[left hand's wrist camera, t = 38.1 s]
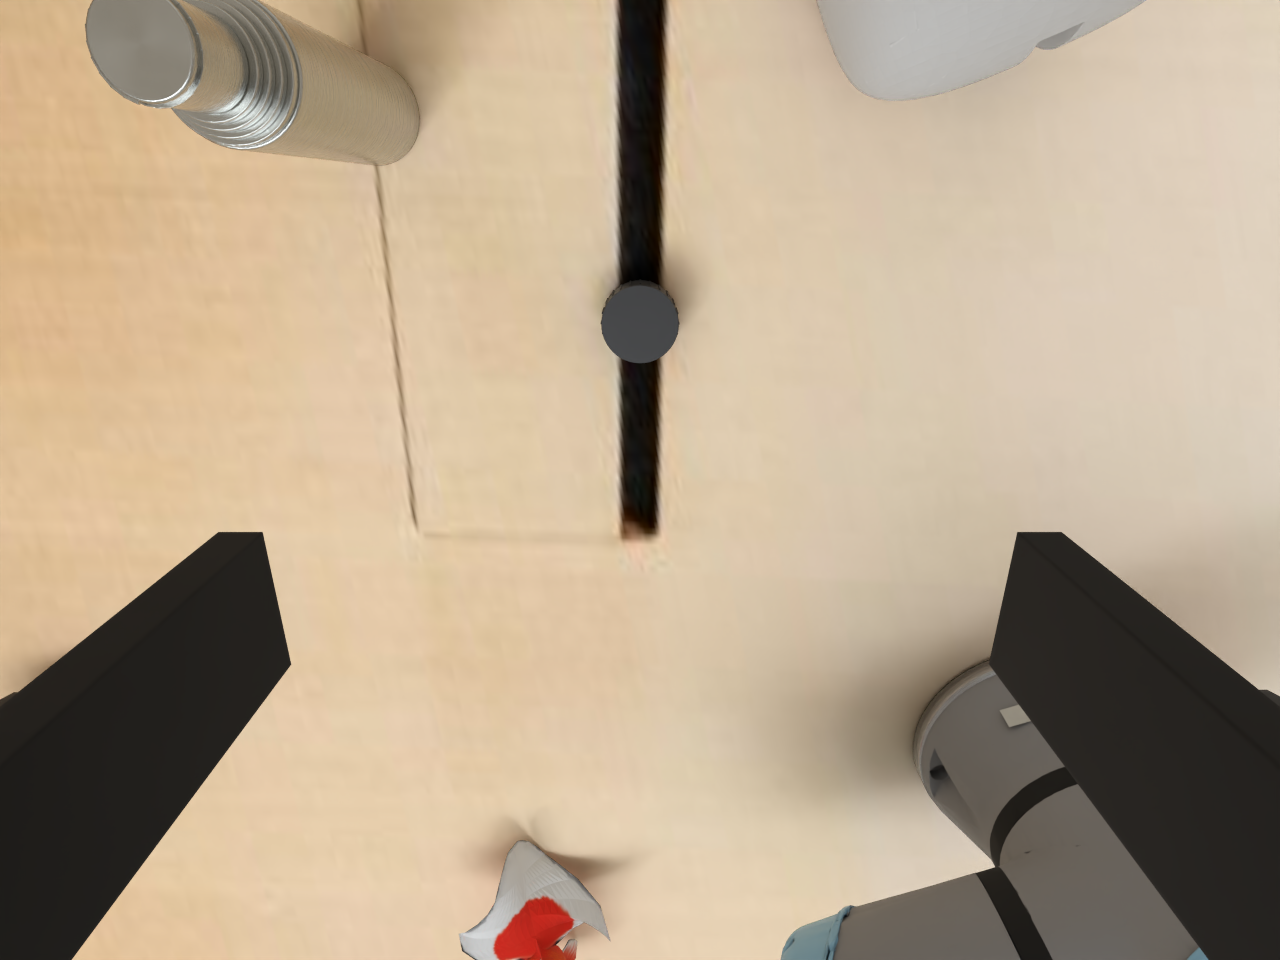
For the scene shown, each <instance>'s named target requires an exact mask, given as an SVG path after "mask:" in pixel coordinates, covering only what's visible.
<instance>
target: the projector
mask: <svg viewBox="0 0 1280 960" xmlns="http://www.w3.org/2000/svg"><path fill="white" fill-rule="evenodd" d="M1144 1H1146V0H817V4H818V7H819V10H820V14H821V17H822V20H823V23H824V27H825V30H826V33H827V35H828V38H829V41H830V43H831V46H832V49H833V51H834V54H835V56H836V58H837V60H838V62H839V64H840V66H841V68H842V70H843V72H844V73H845V75H846V76H847V78H848V79H849V81H850V82H851V83H852V84H853V85H854V86H855V87H856V88H857V89H858V90H859V91H861V92H862V93H864V94H865V95H867V96H870V97H872V98H876V99H880V100H887V101H903V100H912V99H919V98H924V97H929V96H934V95H938V94H942V93H945V92H948V91H952V90H955V89H958V88H961V87H964V86H967V85H969V84H972V83H975V82H977V81H980V80H983V79H985V78H988V77H990V76H993V75H995V74H998V73H1000V72H1002V71H1005V70H1007V69H1010V68H1012V67H1014V66H1016V65H1018V64H1019V63H1021V62H1022V61H1023V60H1024V59H1026V58H1027V56H1028V55H1029V54H1030V53H1031V52H1032V51H1033V49H1034V48H1035V47H1038V48H1040V49H1044V50H1051V49H1055V48H1058V47H1060V46H1062V45H1064V44H1066V43H1068V42H1071V41H1073V40H1075V39H1077V38H1079V37H1081V36H1084V35H1086V34H1088V33H1090V32H1092V31H1094V30H1096V29H1098V28H1100V27H1102V26H1104V25H1106V24H1108V23H1109V22H1111V21H1113V20H1115V19H1117V18H1118V17H1120V16H1122V15H1124V14H1126V13H1127V12H1129V11H1130V10H1132V9H1134V8H1135V7H1137V6H1138V5H1140V4H1141V3H1143V2H1144Z"/></svg>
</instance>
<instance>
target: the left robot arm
mask: <svg viewBox="0 0 1280 960" xmlns="http://www.w3.org/2000/svg"><path fill="white" fill-rule="evenodd" d="M290 665H291V661H290V657H289V652H288V648H287V643H286V638H285V634H284V629H283V624H282V620H281V615H280V611H279V606H278V601H277V597H276V592H275V588H274V583H273V578H272V574H271V569H270V564H269V560H268V555H267V551H266V546H265V541H264V537H263V532H218V533H217V534H216V535H214V536H213V537H212V538H211V539H209V540H208V541H207V542H206V543H204V544H203V545H202V546H201V547H199V548H198V549H197V550H196V551H194V552H193V553H192V554H191V555H189V556H188V557H187V558H186V559H184V560H183V561H182V562H181V563H179V564H178V565H177V566H176V567H174V568H173V569H172V570H171V571H169V572H168V573H167V574H166V575H164V576H163V577H162V578H161V579H159V580H158V581H157V582H156V583H154V584H153V585H152V586H151V587H149V588H148V589H147V590H146V591H144V592H143V593H142V594H141V595H139V596H138V597H137V598H136V599H134V600H133V601H132V602H131V603H129V604H128V605H127V606H126V607H124V608H123V609H122V610H121V611H119V612H118V613H117V614H116V615H114V616H113V617H112V618H111V619H109V620H108V621H107V622H106V623H104V624H103V625H102V626H101V627H99V628H98V629H97V630H95V631H94V632H93V633H92V634H90V635H89V636H88V637H87V638H85V639H84V640H83V641H82V642H80V643H79V644H78V645H77V646H75V647H74V648H73V649H72V650H70V651H69V652H68V653H67V654H65V655H64V656H63V657H62V658H60V659H59V660H58V661H57V662H55V663H54V664H53V665H52V666H50V667H49V668H48V669H47V670H45V671H44V672H43V673H42V674H40V675H39V676H38V677H37V678H35V679H34V680H33V681H32V682H30V683H29V684H28V685H27V686H25V687H24V688H23V689H22V690H20V691H19V692H14V693H12V694H10V695H8V696H6V697H4V698H2V699H1V700H0V960H72V958H73V957H74V956H75V954H76V953H77V952H78V950H79V949H80V948H81V946H82V945H83V944H84V942H85V941H86V940H87V938H88V937H89V936H90V934H91V933H92V932H93V930H94V929H95V928H96V926H97V925H98V923H99V922H100V921H101V919H102V918H103V917H104V915H105V914H106V913H107V911H108V910H109V909H110V907H111V906H112V905H113V903H114V902H115V901H116V899H117V898H118V897H119V895H120V894H121V893H122V891H123V890H124V889H125V887H126V886H127V884H128V883H129V882H130V880H131V879H132V878H133V876H134V875H135V874H136V872H137V871H138V870H139V868H140V867H141V866H142V864H143V863H144V862H145V860H146V859H147V858H148V856H149V855H150V854H151V852H152V851H153V850H154V848H155V847H156V845H157V844H158V843H159V841H160V840H161V839H162V837H163V836H164V835H165V833H166V832H167V831H168V829H169V828H170V827H171V825H172V824H173V823H174V821H175V820H176V819H177V817H178V816H179V815H180V813H181V812H182V811H183V809H184V808H185V806H186V805H187V804H188V802H189V801H190V800H191V798H192V797H193V796H194V794H195V793H196V792H197V790H198V789H199V788H200V786H201V785H202V784H203V782H204V781H205V780H206V778H207V777H208V776H209V774H210V773H211V772H212V770H213V769H214V767H215V766H216V765H217V763H218V762H219V761H220V759H221V758H222V757H223V755H224V754H225V753H226V751H227V750H228V749H229V747H230V746H231V745H232V743H233V742H234V741H235V739H236V738H237V737H238V735H239V734H240V733H241V731H242V730H243V728H244V727H245V726H246V724H247V723H248V722H249V720H250V719H251V718H252V716H253V715H254V714H255V712H256V711H257V710H258V708H259V707H260V706H261V704H262V703H263V702H264V700H265V699H266V698H267V696H268V695H269V694H270V692H271V691H272V689H273V688H274V687H275V685H276V684H277V683H278V681H279V680H280V679H281V677H282V676H283V675H284V673H285V672H286V671H287V669H288V668H289V667H290ZM913 755H914V762H915V766H916V769H917V772H918V774H919V776H920V778H921V780H922V782H923V784H924V786H925V788H926V790H927V792H928V794H929V796H930V797H931V799H932V800H933V801H934V802H935V804H936V805H937V806H938V808H939V809H940V810H941V811H942V812H943V813H944V814H945V815H946V816H947V817H948V818H949V819H950V820H951V821H952V822H953V823H954V824H955V825H956V826H957V827H958V828H959V829H960V830H961V831H962V832H963V833H964V834H965V835H967V836H968V837H969V838H970V839H971V840H972V841H973V842H974V843H975V844H976V845H977V846H978V847H979V848H980V849H981V850H982V851H983V852H984V853H985V854H986V855H987V856H988V857H989V858H990V859H991V860H992V862H993V863H994V865H995V868H991V869H988V870H985V871H981V872H978V873H973V874H970V875H966V876H963V877H960V878H956V879H953V880H950V881H946V882H943V883H939V884H936V885H933V886H929V887H926V888H922V889H919V890H915V891H911V892H908V893H904V894H901V895H897V896H893V897H890V898H886V899H883V900H879V901H875V902H872V903H868V904H865V905H861V906H857V907H856V906H851V905H850V906H846V907H844V908H843V909H842V910H840V911H839V912H838V914H835V915H833V916H830V917H827V918H824V919H822V920H819V921H816V922H813V923H810V924H807V925H805V926H802V927H800V928H799V929H797V930H796V931H794V932H793V933H792V934H791V936H790V937H789V938H788V940H787V942H786V944H785V946H784V948H783V951H782V956H781V960H1280V696H1278V695H1276V694H1274V693H1272V692H1270V691H1268V690H1258V689H1257V688H1256V687H1255V686H1253V685H1252V684H1251V683H1250V682H1248V681H1247V680H1246V679H1245V678H1243V677H1242V676H1241V675H1240V674H1238V673H1237V672H1236V671H1235V670H1233V669H1232V668H1231V667H1230V666H1228V665H1227V664H1226V663H1225V662H1223V661H1222V660H1221V659H1220V658H1218V657H1217V656H1216V655H1215V654H1213V653H1212V652H1211V651H1210V650H1208V649H1207V648H1206V647H1205V646H1203V645H1202V644H1201V643H1200V642H1198V641H1197V640H1196V639H1195V638H1193V637H1192V636H1191V635H1190V634H1188V633H1187V632H1186V631H1185V630H1183V629H1182V628H1181V627H1179V626H1178V625H1177V624H1176V623H1174V622H1173V621H1172V620H1171V619H1169V618H1168V617H1167V616H1166V615H1164V614H1163V613H1162V612H1161V611H1159V610H1158V609H1157V608H1156V607H1154V606H1153V605H1152V604H1151V603H1149V602H1148V601H1147V600H1146V599H1144V598H1143V597H1142V596H1141V595H1139V594H1138V593H1137V592H1136V591H1134V590H1133V589H1132V588H1131V587H1129V586H1128V585H1127V584H1126V583H1124V582H1123V581H1122V580H1121V579H1119V578H1118V577H1117V576H1116V575H1114V574H1113V573H1112V572H1111V571H1109V570H1108V569H1107V568H1106V567H1104V566H1103V565H1102V564H1101V563H1099V562H1098V561H1097V560H1096V559H1094V558H1093V557H1092V556H1091V555H1089V554H1088V553H1087V552H1086V551H1084V550H1083V549H1082V548H1081V547H1079V546H1078V545H1077V544H1076V543H1074V542H1073V541H1072V540H1071V539H1069V538H1068V537H1067V536H1066V535H1064V534H1063V533H1062V532H1017V537H1016V541H1015V546H1014V551H1013V555H1012V560H1011V564H1010V569H1009V574H1008V578H1007V583H1006V588H1005V592H1004V597H1003V601H1002V606H1001V611H1000V615H999V620H998V624H997V629H996V634H995V638H994V643H993V648H992V652H991V657H990V660H988V661H986V662H983V663H981V664H979V665H977V666H975V667H973V668H971V669H969V670H967V671H966V672H964V673H962V674H961V675H959V676H958V677H956V678H955V679H954V680H952V681H951V682H950V683H949V684H947V685H946V686H945V687H944V688H943V689H942V690H941V691H940V692H939V693H938V694H937V695H936V696H935V697H934V699H933V700H932V701H931V702H930V704H929V705H928V706H927V708H926V709H925V711H924V713H923V715H922V716H921V719H920V721H919V723H918V726H917V729H916V732H915V737H914V743H913Z"/></svg>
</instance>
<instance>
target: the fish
mask: <svg viewBox="0 0 1280 960" xmlns="http://www.w3.org/2000/svg"><path fill="white" fill-rule="evenodd" d="M584 922H585V923H587V924H588V925H590V926H592V927H594V928H595V929H597V930H598V931H600V932H601V933H602V934H603V935H605V936H606V937H607V938H608V939H609V940H610V938H609V934H608V931H607V927H606V924H605V921H604V917H603V914H602V910H601V907H600V905H599V904H598V903H597V901H596V900H595V899H594V898H593V897H592V895H591V894H590V893H589V892H588V891H587V889H586V888H585V887H584V886H583V885H582V883H581V882H580V881H579V880H578V879H577V878H576V877H575V876H573V875H572V874H571V873H570V872H568V871H567V870H566V869H565V868H563V867H562V866H561V865H560V864H558V863H557V862H555V861H554V860H553V859H551V858H550V857H549V856H547V855H546V854H545V853H544V852H542V851H541V850H540V849H539V848H538V847H537V846H535V845H534V844H532V843H530V842H529V841H524V840H521V841H517V842H516V843H515V845H514V846H513V847H512V848H511V850H510V851H509V852H508V855H507V858H506V861H505V864H504V868H503V872H502V876H501V880H500V883H499V887H498V892H497V896H496V900H495V903H494V905H493V907H492V908H491V910H490V912H489V913H488V915H487V916H486V917H485V918H484V919H483V920H482V921H481V922H480V923H479V924H478V925H476V926H475V927H473V928H472V929H470V930H469V931H467V932H466V933H461V934H459V937H460V942H461V947H462V951H463V952H464V953H466V954H467V955H469V956H470V957H472V958H473V959H475V960H575V958H576V949H577V941H576V940H575V939H571V940H569V941H568V942H567V944H566V946H565V948H564V949H563V951H562V950H561V949H560V948H559V947H558V946H557V945H556V944H557V943H558V942H559V941H560V940H561V939H562V938H563V937H565V936H566V935H567V934H568V933H569V932H570V931H571V930H572V929H573V928H575V927H577V926H578V925H580V924H582V923H584ZM610 942H611V941H610Z"/></svg>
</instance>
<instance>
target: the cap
mask: <svg viewBox="0 0 1280 960" xmlns="http://www.w3.org/2000/svg"><path fill="white" fill-rule="evenodd" d="M602 314H603V315H602V320H601V325H602V334H603V336H604V339H605V341H606V343H607V345H608V346H609V348H610V349H611V350H612V351H613V352H614V353H615V354H616V355H617V356H619V357H620V358H622V359H624V360H626V361H629V362H634V363H647V362H651V361H654V360H656V359H658V358H660V357H661V356H663V355H664V354H665V353H667V351H668V350H669V349H670V348H671V347H672V345H673V344H674V342H675V340H676V337H677V335H678V327H679V320H678V315H677V314H678V311H677V308H675V303H674V300H673V298H671V297H670V295H669V294H668V291H667V290H666V291H665V290H664V289H663V288H662V287H660V285H657V284H655V283H653V282H651V281H650V280H649V281H645V280H641V279H640V280H635V281H631V280H630V282H627V283H625V284H623V285H622V284H621V285H620V287H618V288H617V289H616V290H615V291H614V290H613V292H612V294H611V295H610V297H609V298H607V301H606V305H605V307H604V308H603V311H602Z"/></svg>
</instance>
